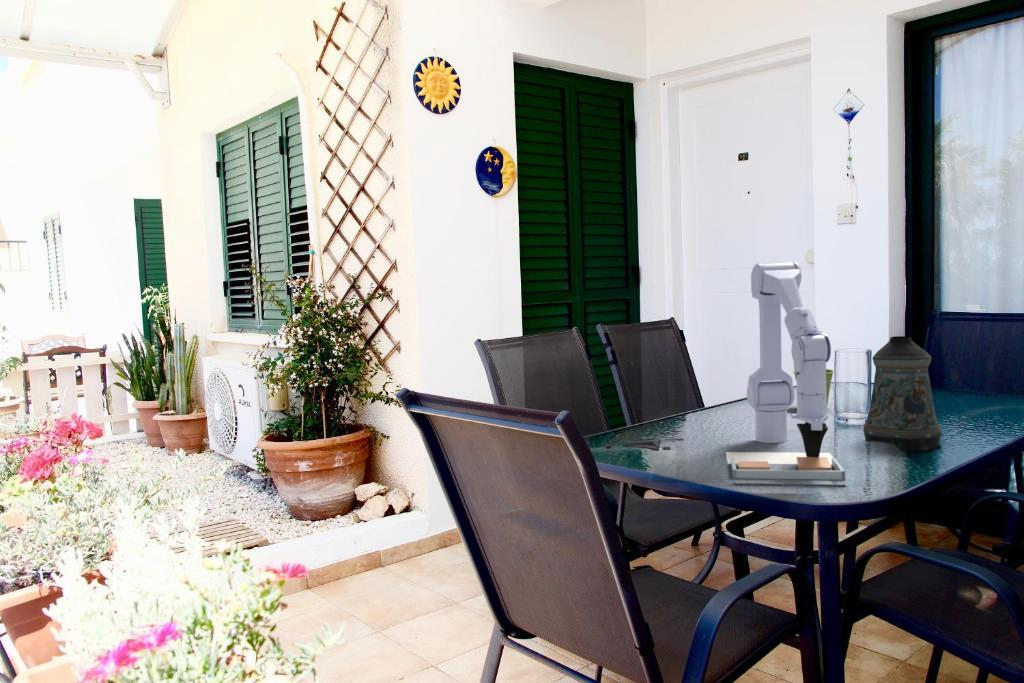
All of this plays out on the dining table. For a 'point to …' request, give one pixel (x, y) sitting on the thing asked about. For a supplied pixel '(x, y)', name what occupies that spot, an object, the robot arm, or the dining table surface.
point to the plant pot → (828, 381)
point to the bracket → (652, 442)
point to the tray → (790, 475)
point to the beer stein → (902, 398)
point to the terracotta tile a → (753, 465)
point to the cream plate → (770, 457)
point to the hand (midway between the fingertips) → (812, 458)
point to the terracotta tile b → (813, 463)
